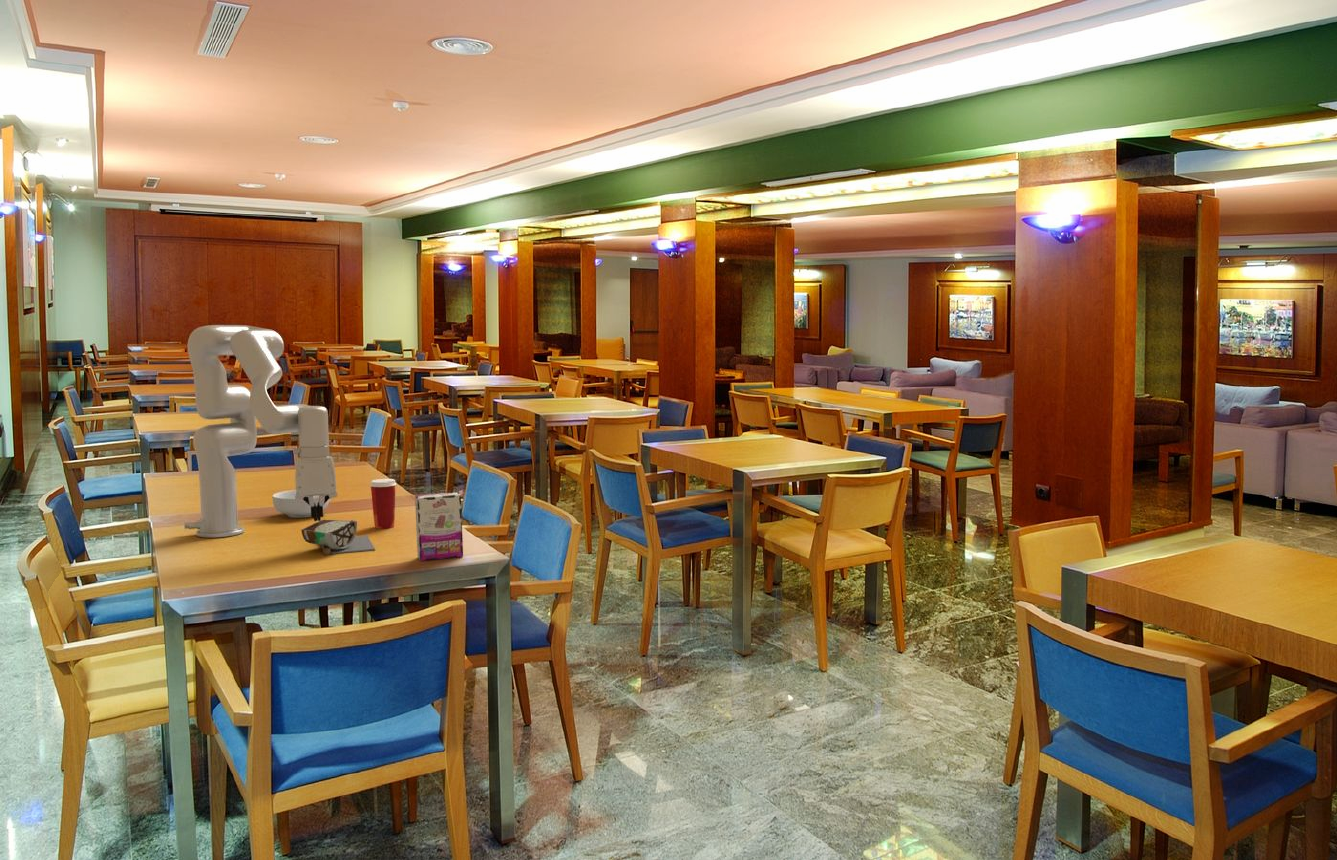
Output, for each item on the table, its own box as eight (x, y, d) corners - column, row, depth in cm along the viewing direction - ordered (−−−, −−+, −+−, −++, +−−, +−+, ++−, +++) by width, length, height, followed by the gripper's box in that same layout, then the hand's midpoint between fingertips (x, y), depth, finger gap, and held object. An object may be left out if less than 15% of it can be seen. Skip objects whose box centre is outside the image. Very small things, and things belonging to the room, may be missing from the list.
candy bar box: (459, 553, 256) (458, 491, 254) (463, 557, 252) (462, 494, 250) (416, 557, 252) (414, 494, 250) (419, 561, 247) (417, 497, 245)
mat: (331, 554, 255) (331, 552, 255) (326, 540, 272) (326, 539, 272) (374, 550, 260) (374, 548, 260) (367, 537, 276) (367, 535, 276)
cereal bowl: (284, 523, 297) (283, 500, 296) (265, 515, 309) (264, 493, 309) (338, 515, 308) (338, 493, 307) (318, 508, 320) (317, 487, 320)
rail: (324, 554, 255) (324, 549, 255) (319, 541, 271) (319, 535, 271) (330, 554, 255) (330, 548, 255) (325, 540, 272) (325, 535, 272)
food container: (299, 553, 256) (333, 557, 254) (297, 531, 255) (331, 534, 252) (327, 539, 268) (359, 542, 265) (325, 517, 267) (358, 520, 264)
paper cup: (403, 525, 292) (401, 479, 291) (385, 530, 285) (384, 483, 284) (382, 523, 296) (381, 477, 294) (365, 528, 289) (363, 481, 287)
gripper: (284, 455, 254) (287, 525, 256) (345, 452, 259) (347, 520, 261) (283, 452, 260) (287, 520, 262) (342, 449, 266) (345, 515, 268)
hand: (317, 520), depth 262 cm, fingers closed
